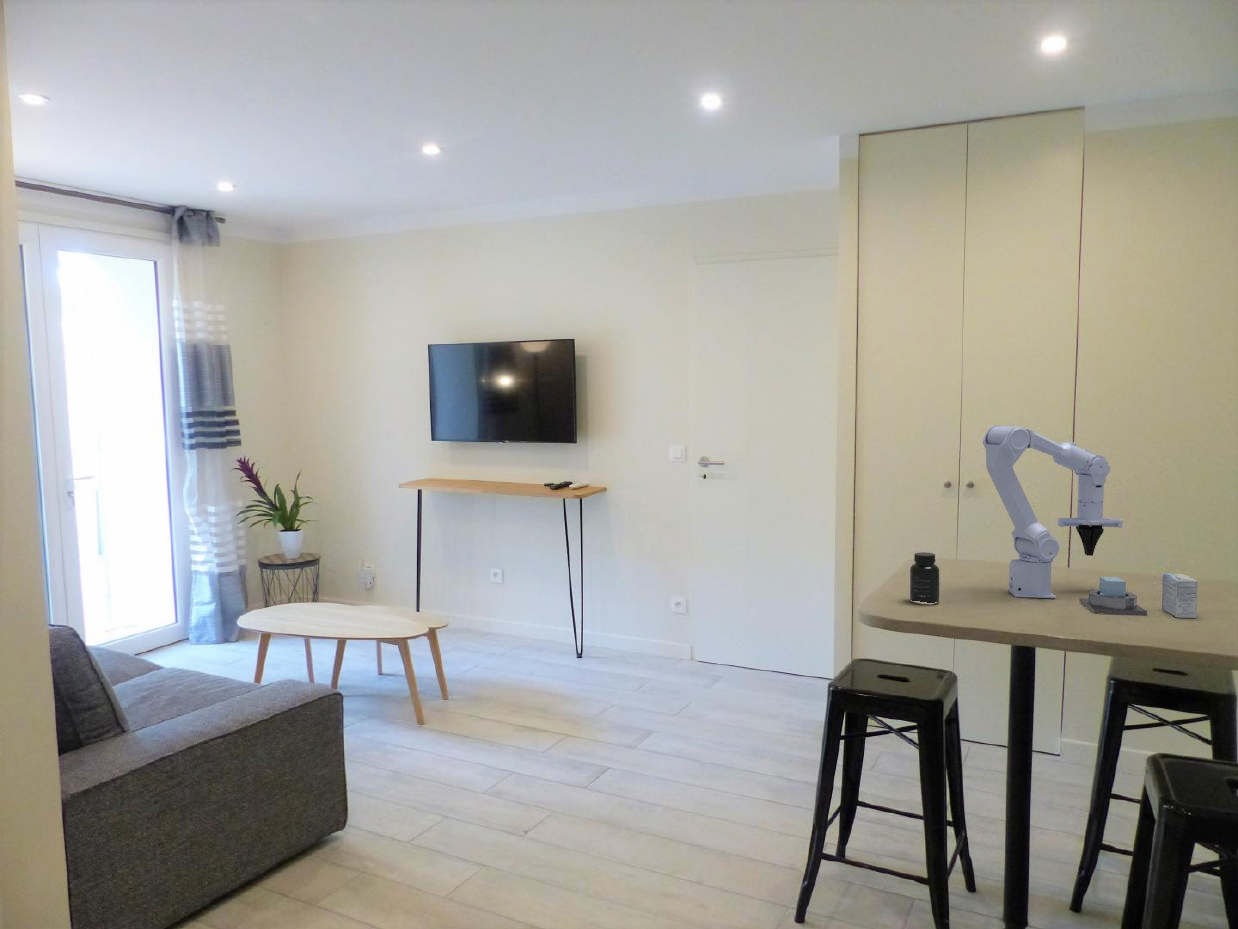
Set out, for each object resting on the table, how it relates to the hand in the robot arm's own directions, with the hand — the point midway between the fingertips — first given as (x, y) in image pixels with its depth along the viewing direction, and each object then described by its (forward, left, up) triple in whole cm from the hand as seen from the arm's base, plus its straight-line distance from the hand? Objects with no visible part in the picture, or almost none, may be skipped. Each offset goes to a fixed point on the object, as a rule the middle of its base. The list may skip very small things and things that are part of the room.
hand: (1088, 554), depth 221 cm
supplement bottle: (-42, -18, -10) cm, 47 cm away
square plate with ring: (0, -18, -9) cm, 20 cm away
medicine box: (+13, -21, -10) cm, 27 cm away
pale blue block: (0, -18, -8) cm, 20 cm away
